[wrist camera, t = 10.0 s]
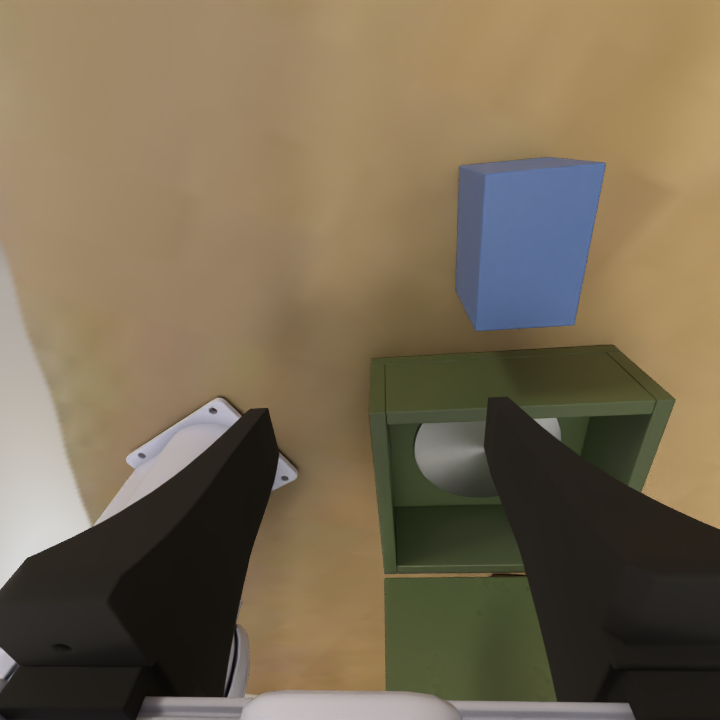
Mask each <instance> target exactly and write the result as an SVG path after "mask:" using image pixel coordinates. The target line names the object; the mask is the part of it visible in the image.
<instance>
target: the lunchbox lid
mask: <svg viewBox="0 0 720 720" xmlns="http://www.w3.org/2000/svg"><path fill="white" fill-rule="evenodd" d="M384 596H385V668H386V691H409V692H416V693H424V694H431V695H435V696H437V697H439V698H441V699H443V700H451V701H527V702H557V698H556V694H555V689H554V685H553V681H552V676H551V672H550V667H549V663H548V658H547V654H546V650H545V646H544V642H543V638H542V634H541V630H540V625H539V621H538V617H537V614H536V610H535V606H534V602H533V598H532V594H531V590H530V587H529V583H528V579H527V577H442V578H385V579H384Z"/></svg>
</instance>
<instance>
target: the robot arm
mask: <svg viewBox="0 0 720 720" xmlns="http://www.w3.org/2000/svg"><path fill="white" fill-rule="evenodd" d="M212 408H215V409H216V410H217V411H216V410H213V409H212ZM484 450H485V454H486V458H487V463H488V466H489V470H490V474H491V477H492V480H493V482H494V485H495V488H496V490H497V493H498V496H499V498H500V501H501V503H502V506H503V508H504V511H505V513H506V516H507V519H508V521H509V524H510V526H511V529H512V531H513V534H514V537H515V539H516V542H517V545H518V548H519V551H520V554H521V558H522V561H523V565H524V569H525V572H526V576H527V579H528V583H529V587H530V590H531V594H532V598H533V602H534V606H535V610H536V614H537V617H538V621H539V625H540V630H541V634H542V638H543V642H544V646H545V650H546V654H547V658H548V663H549V667H550V672H551V676H552V681H553V685H554V689H555V694H556V698H557V702H527V701H451V700H443V699H441V698H439V697H437V696H435V695H431V694H424V693H416V692H409V691H336V690H282V691H273V692H265V693H262V694H260V695H259V696H257V697H255V698H244V696H245V692H246V688H247V683H248V677H249V668H250V657H249V640H248V635H247V633H246V631H245V629H244V628H243V627H242V626H241V625H239V624H236V622H237V618H238V615H239V612H240V608H241V605H242V600H241V595H242V590H243V585H244V581H245V576H246V572H247V568H248V563H249V559H250V555H251V552H252V548H253V545H254V541H255V539H256V536H257V533H258V530H259V527H260V524H261V521H262V518H263V515H264V512H265V509H266V506H267V503H268V500H269V497H270V494H271V491H273V490H275V489H277V488H279V487H281V486H283V485H285V484H287V483H289V482H291V481H293V480H295V479H296V478H297V476H298V470H297V469H296V468H295V467H294V466H293V465H292V464H291V463H290V462H289V461H288V460H287V459H286V458H285V457H284V456H283V455H282V454H281V453H280V452H279V450H278V446H277V442H276V438H275V434H274V430H273V426H272V422H271V418H270V414H269V410H268V408H256V409H250V410H248V411H247V412H246V413H245V414H244V415H243V416H241V415H240V414H239V413H238V412H237V411H236V410H235V409H234V408H233V407H232V406H231V405H230V404H229V403H228V402H227V401H226V400H224V399H223V398H216V399H214V400H212V401H211V402H209V403H207V404H206V405H204V406H203V407H201V408H200V409H198V410H197V411H195V412H194V413H192V414H190V415H189V416H187V417H186V418H184V419H183V420H181V421H180V422H178V423H177V424H175V425H173V426H172V427H170V428H169V429H167V430H166V431H164V432H163V433H161V434H159V435H158V436H156V437H155V438H153V439H152V440H150V441H149V442H147V443H146V444H144V445H142V446H141V447H139V448H138V449H136V450H135V451H133V452H132V453H130V454H129V455H128V456H127V458H126V461H127V463H128V464H129V465H130V466H132V467H133V468H134V469H135V470H134V472H133V473H132V474H131V476H130V477H129V478H128V480H127V481H126V482H125V484H124V485H123V486H122V488H121V489H120V491H119V492H118V493H117V495H116V496H115V497H114V499H113V500H112V501H111V503H110V504H109V505H108V507H107V508H106V509H105V511H104V512H103V513H102V515H101V516H100V517H99V519H98V520H97V521H96V523H95V524H94V525H93V527H91V528H89V529H88V530H86V531H84V532H82V533H80V534H78V535H76V536H74V537H72V538H70V539H68V540H65V541H64V542H61V543H59V544H57V545H55V546H53V547H50V548H48V549H46V550H44V551H42V552H40V553H38V554H36V555H33V556H31V557H28V558H27V559H26V560H25V561H24V563H23V564H22V565H21V566H20V567H19V568H18V570H17V571H16V572H15V573H14V574H13V575H12V577H11V578H10V579H9V580H8V581H7V583H6V584H5V585H4V586H3V587H2V588H1V590H0V720H720V529H717V528H715V527H712V526H710V525H707V524H705V523H703V522H700V521H698V520H696V519H694V518H692V517H689V516H687V515H685V514H683V513H681V512H678V511H676V510H674V509H672V508H670V507H668V506H666V505H664V504H662V503H660V502H658V501H656V500H654V499H652V498H650V497H648V496H646V495H644V494H642V493H640V492H639V491H637V490H635V489H633V488H631V487H629V486H627V485H626V484H624V483H622V482H620V481H619V480H617V479H615V478H614V477H612V476H610V475H609V474H607V473H606V472H604V471H602V470H601V469H599V468H598V467H596V466H594V465H593V464H591V463H590V462H588V461H587V460H585V459H584V458H582V457H581V456H580V455H578V454H577V453H576V452H574V451H573V450H571V449H570V448H569V447H567V446H566V445H565V444H563V443H562V442H561V441H559V440H558V439H557V438H556V437H554V436H553V435H552V434H551V433H549V432H548V431H547V430H546V429H544V428H543V427H542V426H541V425H540V424H538V423H537V422H536V421H535V420H534V419H533V418H532V417H530V416H529V415H528V414H527V413H526V412H525V411H524V410H522V409H521V408H520V407H519V406H518V405H517V404H516V403H515V402H513V401H512V400H511V399H510V398H509V397H488V403H487V415H486V426H485V438H484ZM285 476H287V477H285Z"/></svg>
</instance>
